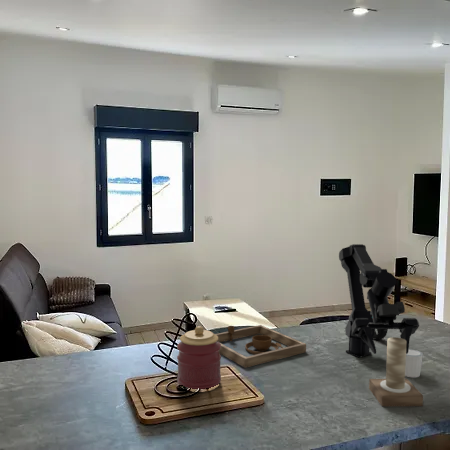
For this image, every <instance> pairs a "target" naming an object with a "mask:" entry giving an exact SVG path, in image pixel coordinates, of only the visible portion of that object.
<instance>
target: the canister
mask: <svg viewBox="0 0 450 450" xmlns="http://www.w3.org/2000/svg"><path fill="white" fill-rule="evenodd" d="M215 334H216V333H214V332H213V331H210V330H206V329H204V328H203V327H202V326H201V325H200V326H199V325H198V326H196V327H195V328H194V329H193V330H189V331H186V332H185V333H184V334H182V335H181V336H180V337H179V340H180V342H179V343H177V345H176V348H177V350H178V355H176V359H177V379H176V381H177V383H179V384H180V385H183V386H185V387H188V388H192V389H198V388H199V389H205V388H211V387H214V386H216V385H218V384H219V383H220V384H221V381H222V374H221V359H222V354H220V353H219V349H220V348H221V344H222V343H221V342H218V341H217V340H218V336H217V335H215ZM220 343H221V344H220Z"/></svg>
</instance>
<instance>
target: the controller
mask: <svg viewBox="0 0 450 450" xmlns="http://www.w3.org/2000/svg"><path fill="white" fill-rule="evenodd" d="M372 319H373V317H372ZM388 330H389V329H375V330H374V336H373V340H374V341H375V340H376V341H377V340H383V339H384V338H385V337H386V336H387V334H388ZM376 331H377V332H376Z"/></svg>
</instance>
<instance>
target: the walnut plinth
mask: <svg viewBox="0 0 450 450" xmlns="http://www.w3.org/2000/svg"><path fill="white" fill-rule="evenodd" d="M368 380H369V383H368V385H369V386H368V389H369V390H370V392H371V393H372V395H373V396H374V397H375V399H376V400H377V401H378V403H379V404H380V406H381V407H423V406H424V405H423V404H424V395H423V393H421V392H420V391H419V390H418V389H417V388H416V387H415V386H414V385H413V383H412V382H411V381H410V380H409V379H408V378H405V387H404V388H403V389H392V388H389V387H388V386H386V378H369V379H368Z"/></svg>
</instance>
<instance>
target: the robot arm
mask: <svg viewBox="0 0 450 450" xmlns="http://www.w3.org/2000/svg"><path fill="white" fill-rule="evenodd" d="M338 259H339V261H340V265H341V267H342V269H343V270H344V271H345V272H346V274H347V282H348V289H349V290H348V291H349V297H350V305H351V312H350V314H349V317H348V321H347V324H346V326H345V328H344V329H345V335H346V336H347V337H348V349H346V350H345V353H347V354H350V355H351V356H355V357H357V358H362V357H366V356H369V355H372V353H373V354H374V355H375V354H377V348H376V344H375V339H373V336H374V330H375V331H376V330H377V329H388V330H398V331H399V333H400V336H399V338H402V339H405V340H406V341H407V342H406V354H407V353H408V350H409V349H410V348H409V347H410V340H411V336H412V335H414V334H415V333H416V331H417V330H418V329H419V328H420V323H419V320H418V319H417V318H416V317H403V319H402V320H401V322H398V321H397V322H396V320H397V316H400V314H404V313H405V311H406V309H405V305H404V302H403V301H396V302H395V303H390V302H389V298H388V297H389V296H391V293H392V292H393V290H394V289H395V287H396V285H397V278H396V276H394V274H392V273H391V272H389V271H388V269H387V268H382V267H381V266H378V265H376V264H375V263H374V262H373V260H372V258H371V256H370V254H369V253H368V251H367V248H366V245H365V244H360V243H359V244H358V243H357V244H355V243H354V244H350V245H349V246H347V247H343V248H342V249H340V250H339V253H338ZM363 288H368V290H367V292H366V299H367V300H368V302H369V308H370V310H368V309H367V308H366V302H365V301H366V300H365V295H364V289H363ZM372 317H373V319H372ZM371 351H372V352H371Z"/></svg>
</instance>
